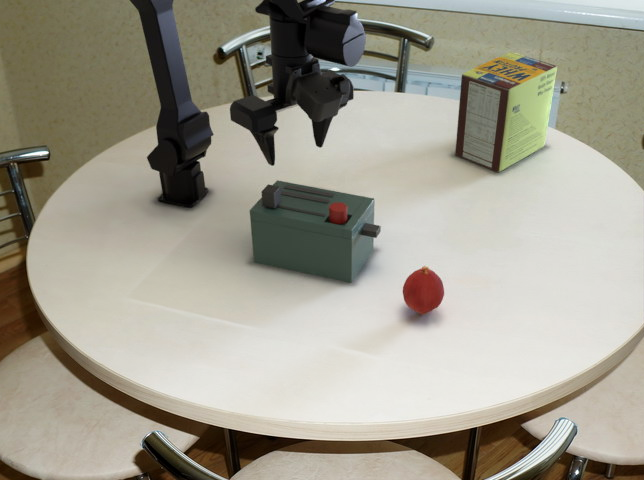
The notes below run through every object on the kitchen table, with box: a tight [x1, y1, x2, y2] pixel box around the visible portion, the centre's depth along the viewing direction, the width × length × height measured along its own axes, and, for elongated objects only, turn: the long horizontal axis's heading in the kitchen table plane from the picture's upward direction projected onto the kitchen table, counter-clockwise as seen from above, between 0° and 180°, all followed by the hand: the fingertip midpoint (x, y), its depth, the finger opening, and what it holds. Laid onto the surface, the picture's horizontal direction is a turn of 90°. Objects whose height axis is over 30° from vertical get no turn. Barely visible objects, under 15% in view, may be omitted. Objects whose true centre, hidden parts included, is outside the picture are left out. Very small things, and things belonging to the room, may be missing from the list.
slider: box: [260, 183, 281, 208], centre depth 125 cm, size 2×2×2 cm
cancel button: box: [329, 202, 347, 225], centre depth 123 cm, size 3×3×2 cm
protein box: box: [454, 51, 558, 173], centre depth 156 cm, size 10×15×16 cm
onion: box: [402, 265, 445, 315], centre depth 119 cm, size 6×6×8 cm
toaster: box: [249, 179, 382, 284], centre depth 129 cm, size 18×10×9 cm, turn 71°
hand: (295, 155), depth 128 cm, fingers open, 9 cm apart
